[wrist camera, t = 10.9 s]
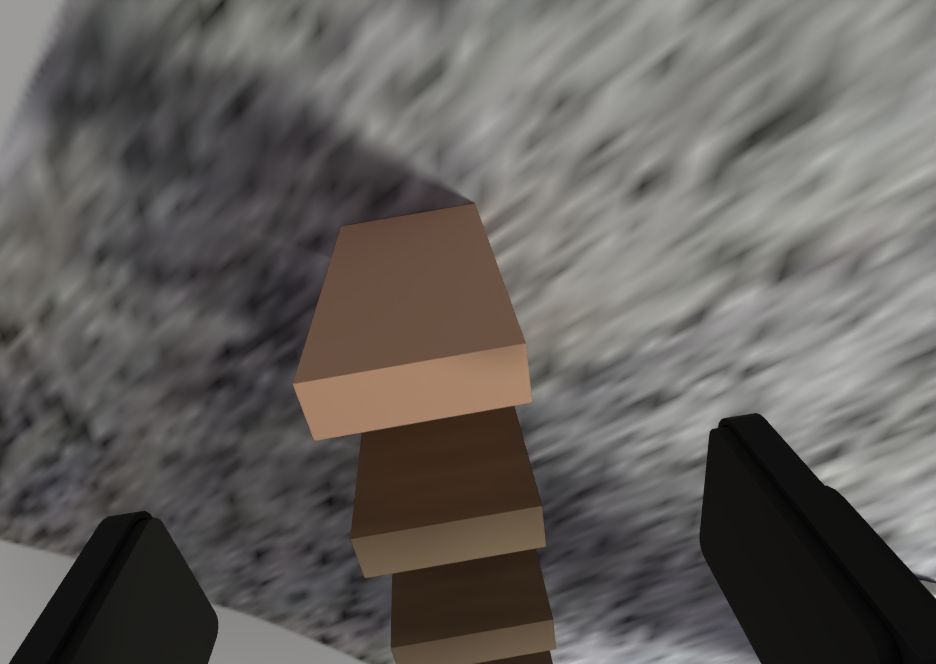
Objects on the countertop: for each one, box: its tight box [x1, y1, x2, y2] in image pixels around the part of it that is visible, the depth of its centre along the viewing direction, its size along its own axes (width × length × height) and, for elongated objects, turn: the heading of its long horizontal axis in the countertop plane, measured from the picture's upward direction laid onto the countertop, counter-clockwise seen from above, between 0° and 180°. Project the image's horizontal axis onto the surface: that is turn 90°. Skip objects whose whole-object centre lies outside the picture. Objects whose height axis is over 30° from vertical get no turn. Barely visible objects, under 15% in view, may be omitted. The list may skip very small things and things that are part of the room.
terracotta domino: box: [293, 203, 532, 441], centre depth 16 cm, size 2×5×10 cm, turn 98°
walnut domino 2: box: [391, 548, 556, 664], centre depth 21 cm, size 2×5×10 cm, turn 98°
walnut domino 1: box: [351, 406, 546, 578], centre depth 19 cm, size 2×5×10 cm, turn 98°
